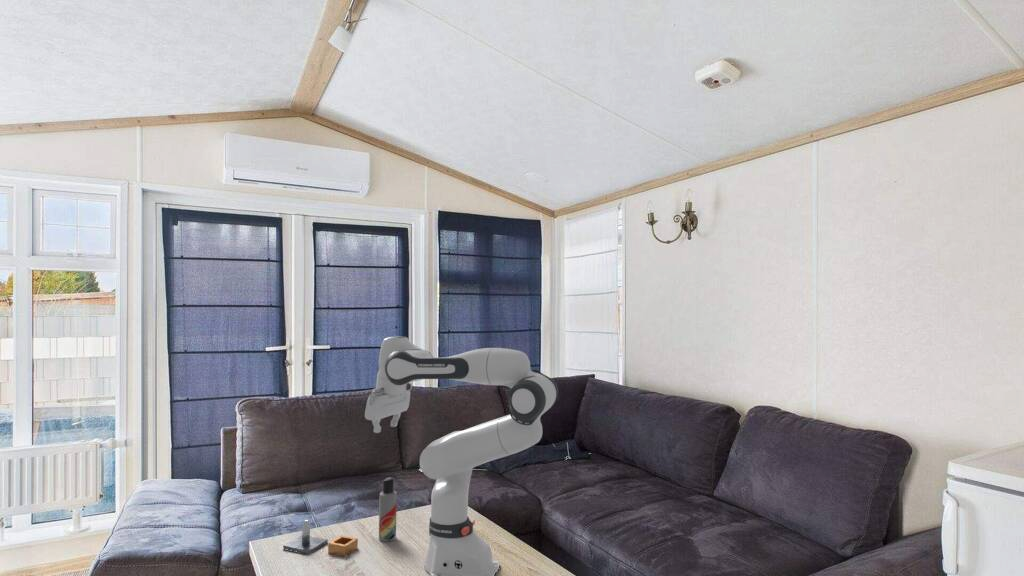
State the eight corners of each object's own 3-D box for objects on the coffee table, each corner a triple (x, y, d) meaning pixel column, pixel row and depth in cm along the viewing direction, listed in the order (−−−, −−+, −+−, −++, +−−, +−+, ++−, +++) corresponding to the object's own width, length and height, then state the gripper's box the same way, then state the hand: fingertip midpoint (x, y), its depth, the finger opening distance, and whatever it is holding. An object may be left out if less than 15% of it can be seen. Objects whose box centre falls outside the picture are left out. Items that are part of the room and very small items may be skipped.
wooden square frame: (357, 547, 175) (357, 538, 176) (344, 556, 169) (345, 546, 170) (341, 544, 178) (341, 535, 178) (328, 552, 172) (328, 543, 172)
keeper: (327, 543, 179) (328, 517, 179) (308, 554, 170) (309, 527, 170) (303, 538, 182) (303, 513, 182) (283, 549, 174) (283, 522, 174)
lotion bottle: (391, 542, 180) (392, 481, 180) (375, 541, 181) (377, 480, 182) (398, 535, 185) (399, 476, 186) (383, 534, 186) (384, 475, 187)
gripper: (379, 392, 163) (374, 438, 163) (414, 383, 182) (410, 425, 182) (362, 388, 165) (357, 434, 165) (398, 380, 184) (394, 421, 184)
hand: (385, 429), depth 173 cm, fingers open, 8 cm apart
